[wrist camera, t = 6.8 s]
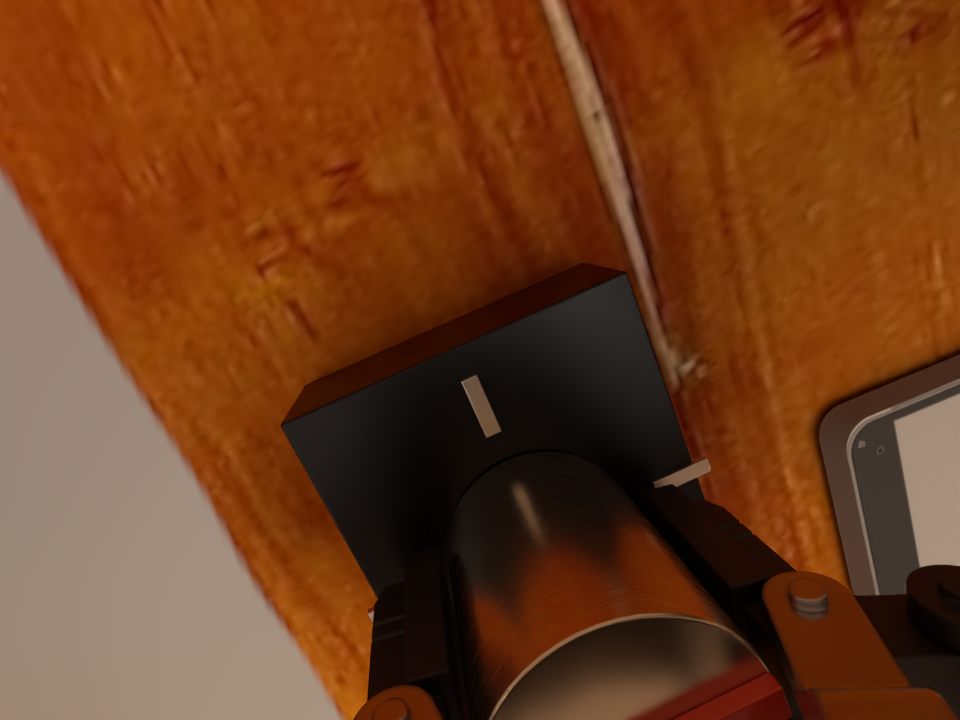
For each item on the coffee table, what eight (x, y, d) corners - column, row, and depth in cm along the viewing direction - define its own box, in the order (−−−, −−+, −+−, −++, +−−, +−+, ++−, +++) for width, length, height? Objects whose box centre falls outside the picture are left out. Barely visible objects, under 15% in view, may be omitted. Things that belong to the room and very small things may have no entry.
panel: (293, 390, 15) (263, 434, 11) (594, 257, 15) (643, 265, 12) (447, 674, 17) (457, 770, 14) (700, 557, 17) (763, 627, 14)
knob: (493, 650, 14) (556, 947, 8) (413, 503, 12) (421, 732, 7) (655, 570, 14) (832, 809, 8) (592, 418, 12) (745, 574, 7)
